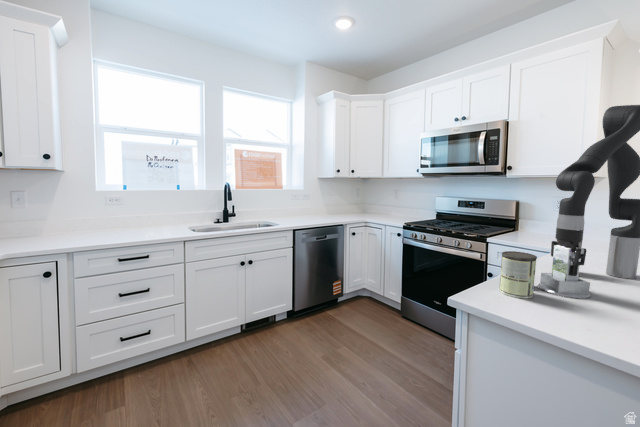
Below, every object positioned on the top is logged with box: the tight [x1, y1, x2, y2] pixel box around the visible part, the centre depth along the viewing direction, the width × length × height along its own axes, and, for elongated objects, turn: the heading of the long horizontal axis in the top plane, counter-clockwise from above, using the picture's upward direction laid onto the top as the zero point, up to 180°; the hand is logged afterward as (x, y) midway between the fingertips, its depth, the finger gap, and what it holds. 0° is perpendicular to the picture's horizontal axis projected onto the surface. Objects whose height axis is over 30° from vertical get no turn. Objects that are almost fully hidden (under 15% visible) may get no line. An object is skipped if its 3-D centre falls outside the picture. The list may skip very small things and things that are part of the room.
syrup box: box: [551, 245, 581, 281], centre depth 109 cm, size 6×6×14 cm
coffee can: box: [499, 250, 538, 299], centre depth 106 cm, size 10×10×14 cm
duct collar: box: [537, 272, 591, 299], centre depth 110 cm, size 15×15×5 cm
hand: (565, 272), depth 109 cm, fingers closed on syrup box, 6 cm apart
